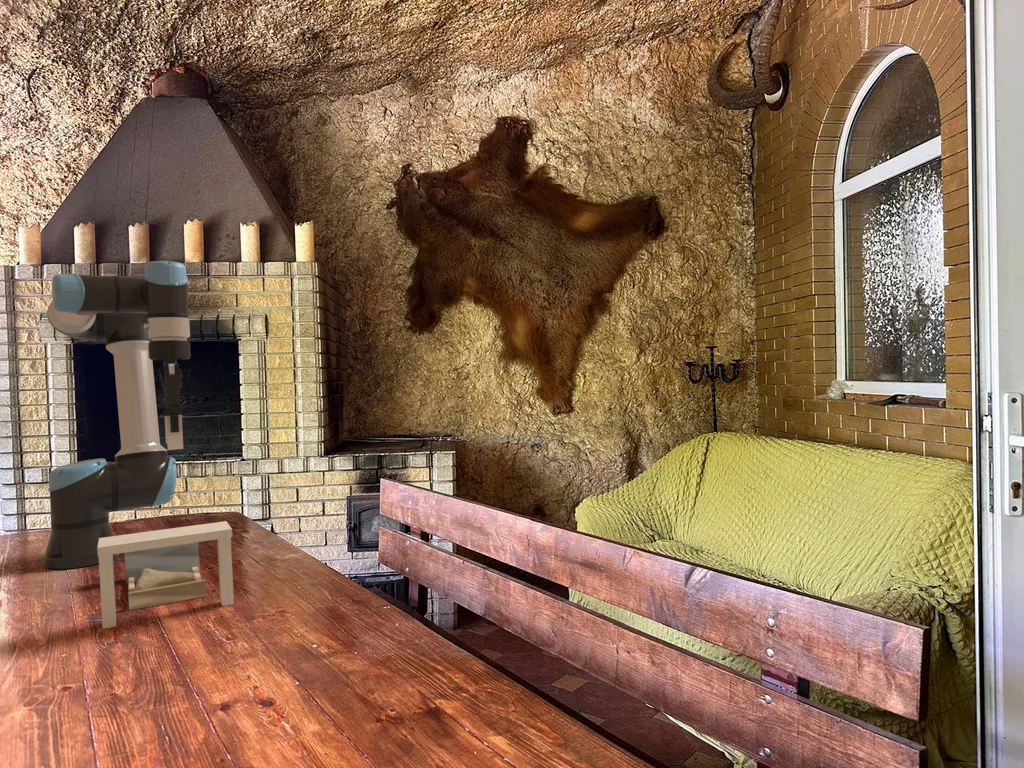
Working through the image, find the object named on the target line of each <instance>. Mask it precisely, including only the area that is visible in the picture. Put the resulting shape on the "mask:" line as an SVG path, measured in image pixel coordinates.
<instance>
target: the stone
mask: <svg viewBox="0 0 1024 768" xmlns="http://www.w3.org/2000/svg"><path fill="white" fill-rule="evenodd" d="M192 581H197V579H196V578H195V575H194V573H192V572H166V571H157V570H153V569H148V568H146V569H144V570H143V571H142V573H141V576H140V578H139V579H138V581H137V582H135V583H136V585H135V590H134V591H139V590H145V589H151V588H156V587H162V586H168V585H174V584H180V583H186V582H192Z"/></svg>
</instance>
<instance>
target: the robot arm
mask: <svg viewBox="0 0 1024 768" xmlns="http://www.w3.org/2000/svg"><path fill="white" fill-rule="evenodd" d="M187 275H188V274H187V268H186V265H185V264H183V263H182V262H177V261H170V260H155V261H152V260H151V261H148V262H146V263H145V265H144V275H143V276H125V275H121V276H120V275H119V276H118V275H112V276H111V275H97V274H77V273H66V274H64V273H62V274H61V273H58V274H55V275H54V276H53V277H52V281H51V295H52V296H51V298H52V300H51V302H50V303H49V305H48V307H47V310H46V314H47V316H46V317H47V319H48V323H50V325H51V326H52V329H54V330H55V331H57V332H59V333H61V335H64V336H67V337H69V338H72V339H76V340H81V341H87V342H105V348H106V350H107V351H108V352H110V354H112V355H113V363H114V364H113V365H114V374H115V388H116V389H115V390H116V399H117V410H118V411H117V413H118V423H119V424H118V425H119V435H120V450H119V451H117V453H116V454H115V455H114V463H108V461H107V460H106V459H105V458H103V457H102V458H92V459H85V460H80V461H75V462H71V463H68V464H64V465H61V466H58V467H56V468H54V469H52V470H51V471H50V472H49V475H48V489H47V491H48V492H49V504H50V506H49V507H50V508H49V509H50V529H51V531H50V532H51V533H50V535H49V540H48V543H47V545H46V548H45V552H44V556H43V565H44V568H47V569H50V570H51V569H52V570H65V569H75V568H76V569H77V568H83V567H84V568H85V567H90V566H94V565H99V557H98V550H97V547H98V541H99V538H104V537H111V536H115V534H114V532H113V530H112V527H111V525H110V516H109V515H110V513H111V512H112V513H114V512H120V511H127V510H136V509H142V508H154V507H156V506H163V505H166V504H169V503H170V502H171V501H172V499H173V498H174V495H175V492H176V486H177V477H178V476H177V475H178V473H177V471H178V470H177V461H176V459H175V457H172V456H169V453H168V451H173V450H184V436H183V433H184V432H183V415H182V413H183V407H182V400H181V399H182V398H181V389H182V378H183V369H182V368H180V364H179V363H178V361H177V360H189V359H191V356H192V355H191V342H189V341H188V339H189V338H190V337H191V332H190V331H191V328H190V318H189V316H190V315H189V297H188V293H189V292H188V282H189V279H188V276H187ZM153 361H163V364H162V366H161V368H162V369H161V368H160V369H159V378H160V379H161V380H160V382H161V383H160V384H161V388H162V389H163V397H164V398H163V399H164V403H163V411H161V413H162V417H164V429H165V431H164V432H165V444H167V445H166V446H167V448H165V447H164V446H162V444H161V440H160V431H159V420H158V410H157V408H158V407H157V395H156V385H155V376H154V375H155V374H154V373H155V372H154V365H153V364H154V362H153ZM119 556H120V553H119V554H113V560H115V559H116V558H118V557H119Z"/></svg>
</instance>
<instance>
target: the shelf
mask: <svg viewBox="0 0 1024 768" xmlns="http://www.w3.org/2000/svg"><path fill="white" fill-rule="evenodd" d="M231 538H233V528H232V527H231V526H230V524H229V522H227V521H226V520H224V521H218V522H210V523H203V524H196V525H195V524H194V525H188V526H180V527H179V526H178V527H173V528H165V529H157V530H150V531H141V532H135V533H128V534H120V535H114V536H111V537H104V538H99V541H98V547H97V550H98V557H99V564H98V571H99V572H98V573H99V588H100V591H99V592H100V604H101V605H100V609H101V626H102V628H101V629H103V630H104V629H109V628H114V627H117V613H116V611H117V610H116V609H117V607H116V590H115V588H116V587H115V574H114V571H115V570H114V559H113V554H119V555H120V554H125V553H126V552H133V551H140V550H147V549H154V548H161V547H168V546H175V545H182V544H189V543H195V542H198V543H200V542H201V543H202V542H208V541H209V542H210V541H216V540H217V541H216V543H217V558H218V560H217V561H218V579H219V581H218V582H219V596H220V597H219V599H220V604H221V606H222V607H227V606H232V605H235V598H234V593H235V592H234V578H233V577H234V575H233V556H232V539H231Z"/></svg>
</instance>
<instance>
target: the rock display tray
mask: <svg viewBox="0 0 1024 768" xmlns="http://www.w3.org/2000/svg"><path fill="white" fill-rule="evenodd" d="M124 567H125V569H124V571H125V584H126V585H127V584H128V595H127V596H128V610H129V611H133V610H138V609H144V608H148V607H153V606H154V607H155V606H159V605H164V604H166V605H167V604H171V603H177V602H181V601H182V602H183V601H187V600H188V601H189V600H193V599H199V598H204V597H207V587H206V586H207V585H206V584H207V583H206V579H205V578H204V579H202V576H201V574H200V572H201V570H200V551H199V542H195V543H189V544H182V545H175V546H168V547H161V548H154V549H147V550H140V551H133V552H126V553H124ZM146 568H148V569H153V570H157V571H166V572H192V573H194V575H195V578H196V579H197V581H192V582H186V583H180V584H174V585H168V586H162V587H156V588H151V589H145V590H139V591H134V590H135V588H136V585H135V583H137V581H138V579H139V578H140V576H141V573H142V571H143V570H144V569H146Z"/></svg>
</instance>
